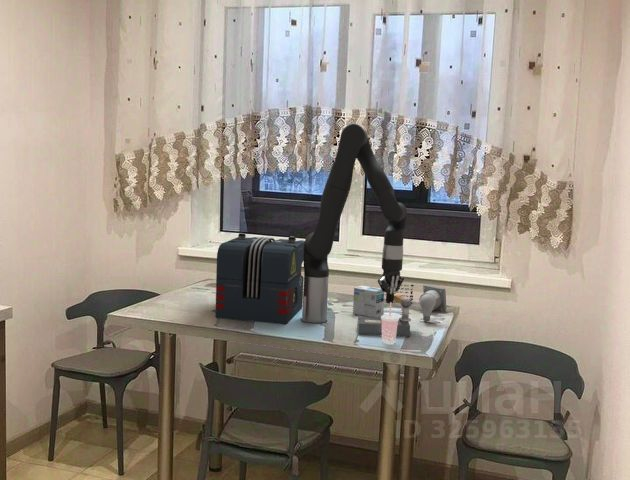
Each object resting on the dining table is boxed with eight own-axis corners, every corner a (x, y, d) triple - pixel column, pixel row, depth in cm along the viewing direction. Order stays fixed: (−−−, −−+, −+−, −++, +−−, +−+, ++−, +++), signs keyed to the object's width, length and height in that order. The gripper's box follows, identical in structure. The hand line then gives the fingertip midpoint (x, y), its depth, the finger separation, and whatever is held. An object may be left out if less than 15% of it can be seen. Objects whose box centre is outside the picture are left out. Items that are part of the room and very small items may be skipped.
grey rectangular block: (358, 334, 238) (359, 308, 237) (357, 327, 248) (358, 302, 247) (412, 337, 238) (413, 311, 237) (409, 329, 248) (410, 304, 247)
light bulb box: (383, 315, 268) (385, 288, 266) (375, 318, 262) (377, 291, 261) (360, 310, 274) (362, 284, 272) (352, 313, 268) (353, 287, 267)
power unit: (286, 324, 248) (289, 244, 243) (215, 318, 253) (216, 238, 249) (302, 307, 275) (305, 234, 271) (237, 302, 280) (239, 230, 276)
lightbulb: (426, 324, 255) (428, 296, 254) (415, 321, 260) (416, 293, 259) (437, 323, 259) (439, 295, 258) (426, 319, 264) (428, 291, 262)
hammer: (386, 298, 256) (386, 292, 255) (394, 298, 257) (395, 291, 256) (403, 307, 242) (404, 300, 242) (412, 307, 243) (413, 300, 243)
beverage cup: (396, 345, 227) (399, 305, 225) (378, 344, 228) (381, 303, 226) (397, 340, 233) (400, 301, 231) (380, 339, 234) (382, 299, 232)
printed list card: (445, 308, 285) (447, 285, 284) (447, 314, 274) (449, 290, 272) (382, 303, 288) (383, 281, 287) (381, 310, 277) (383, 286, 275)
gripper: (396, 254, 255) (393, 299, 257) (373, 256, 246) (370, 303, 248) (411, 257, 249) (408, 303, 252) (388, 259, 240) (385, 307, 242)
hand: (389, 303), depth 250 cm, fingers closed
